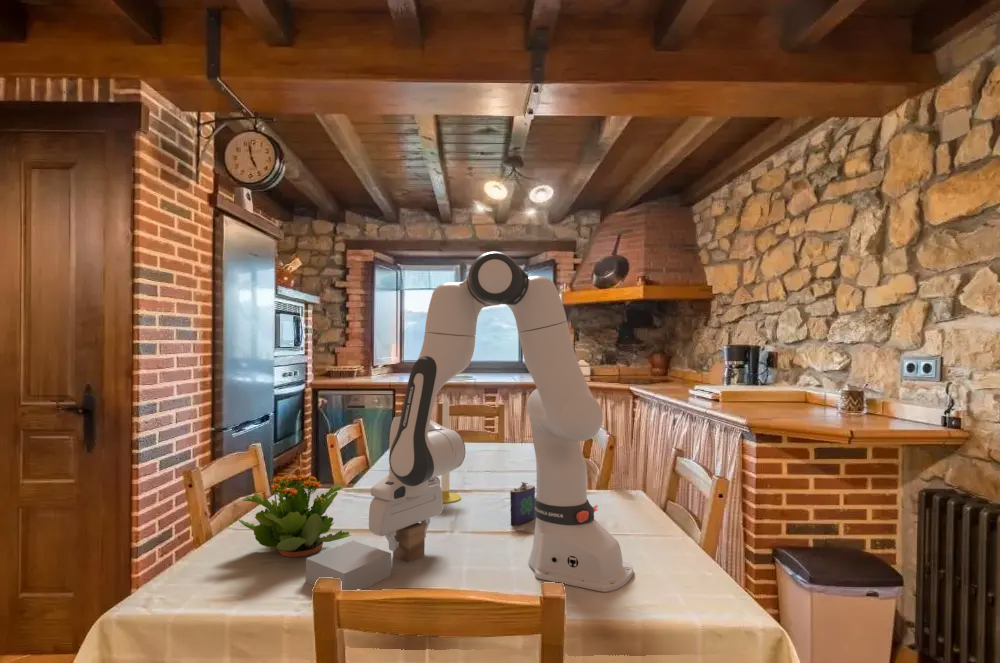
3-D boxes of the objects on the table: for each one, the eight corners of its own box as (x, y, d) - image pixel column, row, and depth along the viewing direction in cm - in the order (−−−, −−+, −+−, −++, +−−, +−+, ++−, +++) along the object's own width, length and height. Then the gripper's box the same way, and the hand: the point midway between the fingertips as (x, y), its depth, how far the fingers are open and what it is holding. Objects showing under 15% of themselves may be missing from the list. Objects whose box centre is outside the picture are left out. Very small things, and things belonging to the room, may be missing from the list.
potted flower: (376, 542, 130) (377, 469, 130) (304, 582, 109) (305, 495, 109) (298, 526, 140) (299, 459, 141) (218, 560, 119) (219, 481, 119)
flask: (529, 516, 150) (530, 477, 150) (538, 518, 148) (538, 479, 148) (508, 524, 143) (508, 484, 143) (516, 527, 141) (516, 486, 141)
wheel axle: (467, 498, 166) (468, 393, 166) (440, 505, 159) (441, 395, 160) (449, 491, 173) (450, 391, 174) (422, 497, 167) (423, 393, 167)
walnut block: (424, 555, 123) (424, 524, 123) (408, 562, 119) (408, 530, 119) (408, 550, 126) (409, 520, 126) (392, 556, 121) (393, 525, 122)
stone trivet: (390, 577, 112) (391, 553, 112) (344, 600, 102) (344, 573, 102) (352, 563, 119) (353, 540, 119) (305, 583, 109) (305, 558, 109)
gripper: (429, 471, 132) (429, 528, 132) (364, 490, 116) (363, 554, 115) (449, 475, 129) (448, 533, 128) (384, 495, 112) (383, 561, 112)
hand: (407, 543), depth 122 cm, fingers open, 7 cm apart
